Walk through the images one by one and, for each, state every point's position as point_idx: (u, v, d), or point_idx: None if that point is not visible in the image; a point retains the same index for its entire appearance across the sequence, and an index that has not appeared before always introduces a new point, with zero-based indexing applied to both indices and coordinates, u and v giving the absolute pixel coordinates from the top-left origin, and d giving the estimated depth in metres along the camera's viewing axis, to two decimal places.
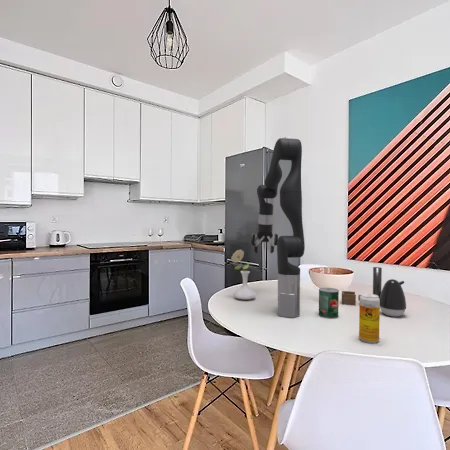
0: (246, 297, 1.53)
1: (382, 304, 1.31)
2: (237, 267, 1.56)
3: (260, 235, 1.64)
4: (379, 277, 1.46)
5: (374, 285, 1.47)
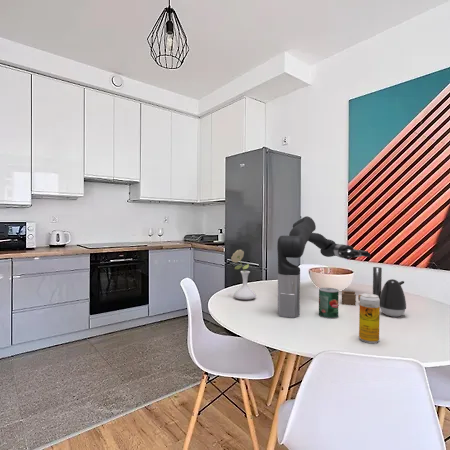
0: (246, 297, 1.53)
1: (382, 304, 1.31)
2: (237, 267, 1.56)
3: (346, 250, 1.68)
4: (379, 277, 1.46)
5: (374, 285, 1.47)
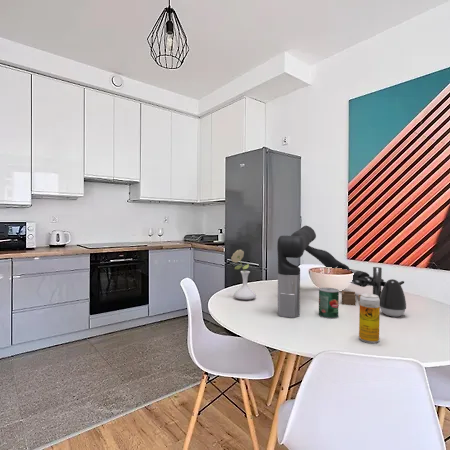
0: (246, 297, 1.53)
1: (382, 304, 1.31)
2: (237, 267, 1.56)
3: (362, 278, 1.54)
4: (379, 277, 1.46)
5: None
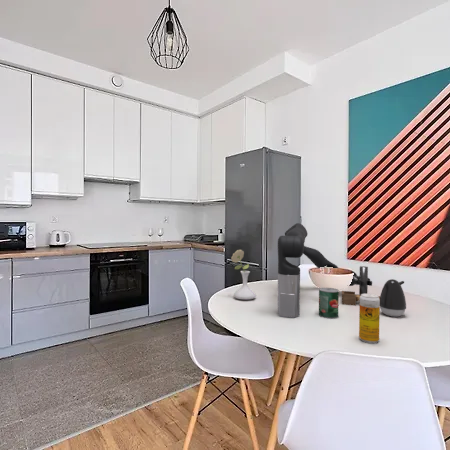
0: (246, 297, 1.53)
1: (382, 304, 1.31)
2: (237, 267, 1.56)
3: None
4: (365, 276, 1.48)
5: None
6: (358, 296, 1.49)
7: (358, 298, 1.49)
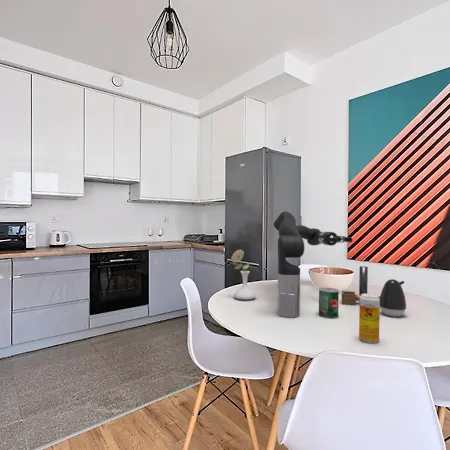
0: (246, 297, 1.53)
1: (382, 304, 1.31)
2: (237, 267, 1.56)
3: (329, 237, 1.70)
4: (365, 276, 1.48)
5: (360, 284, 1.49)
6: (358, 296, 1.49)
7: (358, 298, 1.49)
